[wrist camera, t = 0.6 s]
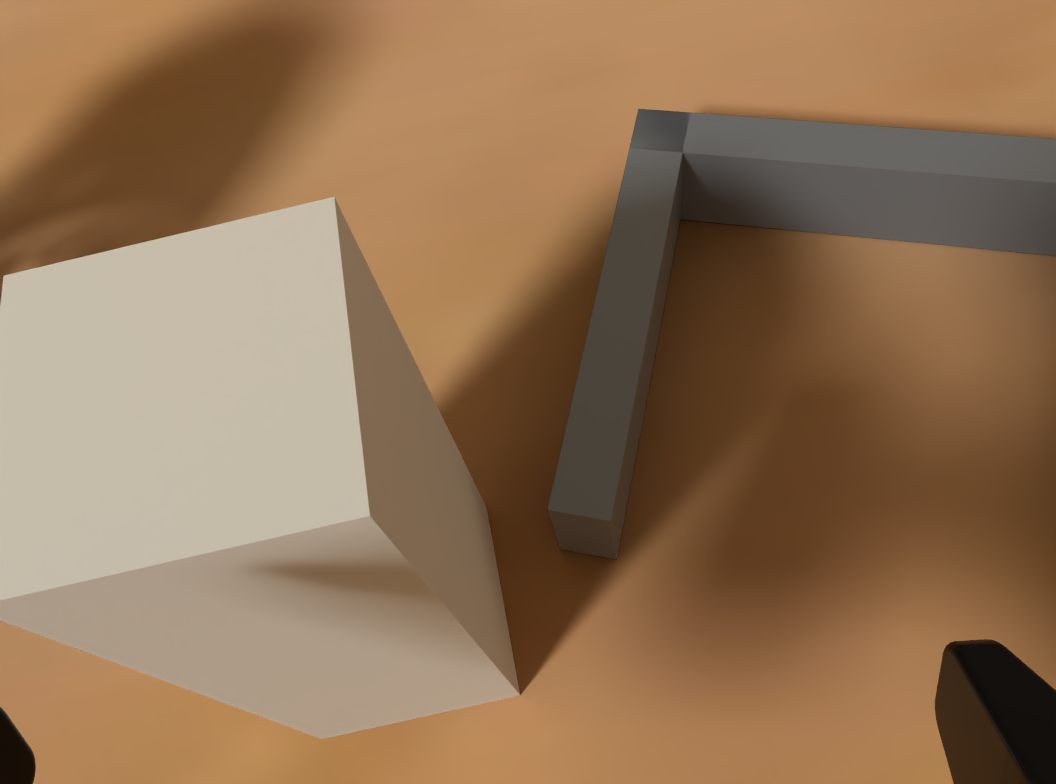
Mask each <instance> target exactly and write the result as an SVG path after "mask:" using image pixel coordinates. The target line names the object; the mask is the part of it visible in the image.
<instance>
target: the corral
mask: <svg viewBox="0 0 1056 784" xmlns="http://www.w3.org/2000/svg"><path fill="white" fill-rule="evenodd" d="M680 220H691V221H702V222H712V223H722V224H732V225H743V226H753V227H763V228H773V229H784V230H794V231H804V232H814V233H825V234H835V235H845V236H856V237H866V238H876V239H886V240H897V241H907V242H917V243H927V244H938V245H948V246H958V247H968V248H979V249H989V250H999V251H1009V252H1020V253H1030V254H1040V255H1051V256H1056V139H1051V138H1037V137H1023V136H1009V135H995V134H981V133H967V132H953V131H939V130H925V129H912V128H898V127H884V126H870V125H856V124H842V123H828V122H814V121H800V120H786V119H772V118H758V117H744V116H731V115H717V114H703V113H689V112H675V111H661V110H647V109H638V113H637V117H636V122H635V126H634V131H633V135H632V139H631V144H630V148H629V153H628V157H627V161H626V166H625V170H624V175H623V179H622V183H621V188H620V192H619V197H618V201H617V205H616V210H615V214H614V219H613V223H612V227H611V232H610V236H609V241H608V245H607V249H606V254H605V258H604V263H603V267H602V271H601V276H600V280H599V285H598V289H597V293H596V298H595V302H594V307H593V311H592V315H591V320H590V324H589V329H588V333H587V337H586V342H585V346H584V351H583V355H582V359H581V364H580V368H579V373H578V377H577V381H576V386H575V390H574V395H573V399H572V403H571V408H570V412H569V417H568V421H567V425H566V430H565V434H564V439H563V443H562V447H561V452H560V456H559V461H558V465H557V469H556V474H555V478H554V482H553V487H552V491H551V496H550V500H549V504H548V509H547V511H548V514H549V517H550V520H551V523H552V526H553V529H554V532H555V535H556V538H557V541H558V544H559V547H560V549H562V550H567V551H573V552H578V553H584V554H589V555H595V556H600V557H606V558H611V559H617V556H618V550H619V545H620V540H621V535H622V529H623V524H624V519H625V513H626V508H627V503H628V497H629V492H630V487H631V481H632V476H633V471H634V465H635V460H636V455H637V449H638V444H639V439H640V433H641V428H642V423H643V417H644V412H645V407H646V401H647V396H648V391H649V385H650V380H651V375H652V370H653V364H654V359H655V354H656V348H657V343H658V338H659V332H660V327H661V322H662V316H663V311H664V306H665V300H666V295H667V290H668V284H669V279H670V274H671V268H672V263H673V258H674V252H675V247H676V242H677V236H678V231H679V226H680Z"/></svg>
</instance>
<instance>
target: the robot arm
mask: <svg viewBox="0 0 1056 784" xmlns="http://www.w3.org/2000/svg"><path fill="white" fill-rule="evenodd" d="M935 713H936V720H937V725H938V729H939V733H940V736H941V740H942V744H943V747H944V751H945V754H946V758H947V761H948V765H949V768H950V772H951V775H952V779H953V783H954V784H1056V690H1055V689H1053V688H1052V687H1051V686H1050V685H1049V684H1048V683H1046V682H1045V681H1044V680H1043V679H1042V678H1041V677H1040V676H1038V675H1037V674H1036V673H1035V672H1034V671H1033V670H1031V669H1030V668H1029V667H1028V666H1027V665H1026V664H1024V663H1023V662H1022V661H1021V660H1020V659H1019V658H1018V657H1016V656H1015V655H1014V654H1013V653H1012V652H1011V651H1009V650H1008V649H1007V648H1006V647H1005V646H1003V645H1002V644H1000V643H998V642H996V641H994V640H987V639H984V640H969V641H954V642H951V643H949V644H948V645H947V646H946V647H945V649H944V652H943V657H942V663H941V669H940V674H939V680H938V686H937V692H936V697H935ZM35 768H36V765H35V757H34V754H33V751H32V750H31V748H30V747H29V745H28V744H27V742H26V741H25V739H24V738H23V737H22V735H21V734H20V732H19V731H18V729H17V728H16V727H15V725H14V724H13V722H12V721H11V720H10V718H9V717H8V715H7V714H6V712H5V711H4V710H3V709H2V708H1V707H0V784H33V781H34V777H35Z"/></svg>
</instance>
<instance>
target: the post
mask: <svg viewBox="0 0 1056 784" xmlns="http://www.w3.org/2000/svg"><path fill="white" fill-rule="evenodd" d="M0 621H3V622H6V623H8V624H11V625H14V626H17V627H19V628H22V629H25V630H27V631H30V632H33V633H36V634H38V635H41V636H44V637H46V638H49V639H52V640H55V641H57V642H60V643H63V644H65V645H68V646H71V647H74V648H76V649H79V650H82V651H84V652H87V653H90V654H93V655H95V656H98V657H101V658H103V659H106V660H109V661H112V662H114V663H117V664H120V665H122V666H125V667H128V668H131V669H133V670H136V671H139V672H141V673H144V674H147V675H150V676H152V677H155V678H158V679H160V680H163V681H166V682H169V683H171V684H174V685H177V686H179V687H182V688H185V689H187V690H190V691H193V692H196V693H198V694H201V695H204V696H206V697H209V698H212V699H215V700H217V701H220V702H223V703H225V704H228V705H231V706H234V707H236V708H239V709H242V710H244V711H247V712H250V713H253V714H255V715H258V716H261V717H263V718H266V719H269V720H272V721H274V722H277V723H280V724H282V725H285V726H288V727H291V728H293V729H296V730H299V731H301V732H304V733H307V734H310V735H312V736H315V737H318V738H320V739H326V738H330V737H335V736H339V735H344V734H348V733H353V732H357V731H362V730H366V729H371V728H375V727H380V726H384V725H389V724H393V723H398V722H402V721H407V720H411V719H416V718H420V717H425V716H430V715H434V714H439V713H443V712H448V711H452V710H457V709H461V708H466V707H470V706H475V705H479V704H484V703H488V702H493V701H497V700H502V699H506V698H511V697H515V696H520V691H519V686H518V680H517V674H516V669H515V663H514V658H513V652H512V646H511V641H510V635H509V630H508V624H507V618H506V613H505V607H504V601H503V596H502V590H501V585H500V579H499V573H498V568H497V562H496V557H495V551H494V545H493V540H492V534H491V529H490V523H489V517H488V512H487V507H486V505H485V503H484V501H483V499H482V497H481V495H480V493H479V491H478V489H477V487H476V485H475V482H474V480H473V478H472V476H471V474H470V472H469V470H468V468H467V466H466V464H465V462H464V460H463V458H462V456H461V454H460V452H459V450H458V448H457V446H456V444H455V442H454V440H453V438H452V436H451V434H450V432H449V429H448V427H447V425H446V423H445V421H444V419H443V417H442V415H441V413H440V411H439V409H438V407H437V405H436V403H435V401H434V399H433V397H432V395H431V393H430V391H429V389H428V387H427V385H426V383H425V381H424V379H423V377H422V374H421V372H420V370H419V368H418V366H417V364H416V362H415V360H414V358H413V356H412V354H411V352H410V350H409V348H408V346H407V344H406V342H405V340H404V338H403V336H402V334H401V332H400V330H399V328H398V326H397V324H396V322H395V319H394V317H393V315H392V313H391V311H390V309H389V307H388V305H387V303H386V301H385V299H384V297H383V295H382V293H381V291H380V289H379V287H378V285H377V283H376V281H375V279H374V277H373V275H372V273H371V271H370V269H369V267H368V264H367V262H366V260H365V258H364V256H363V254H362V252H361V250H360V248H359V246H358V244H357V242H356V240H355V238H354V236H353V234H352V232H351V230H350V228H349V226H348V224H347V222H346V220H345V218H344V216H343V214H342V211H341V209H340V207H339V205H338V203H337V201H336V199H335V197H332V198H327V199H323V200H319V201H315V202H311V203H306V204H302V205H298V206H294V207H290V208H285V209H281V210H277V211H273V212H269V213H264V214H260V215H256V216H252V217H248V218H243V219H239V220H235V221H231V222H227V223H222V224H218V225H214V226H210V227H206V228H201V229H197V230H193V231H189V232H185V233H181V234H176V235H172V236H168V237H164V238H160V239H155V240H151V241H147V242H143V243H139V244H134V245H130V246H126V247H122V248H118V249H113V250H109V251H105V252H101V253H97V254H92V255H88V256H84V257H80V258H76V259H71V260H67V261H63V262H59V263H55V264H50V265H46V266H42V267H38V268H34V269H30V270H25V271H21V272H17V273H13V274H9V275H4V276H3V285H2V294H1V303H0Z"/></svg>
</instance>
